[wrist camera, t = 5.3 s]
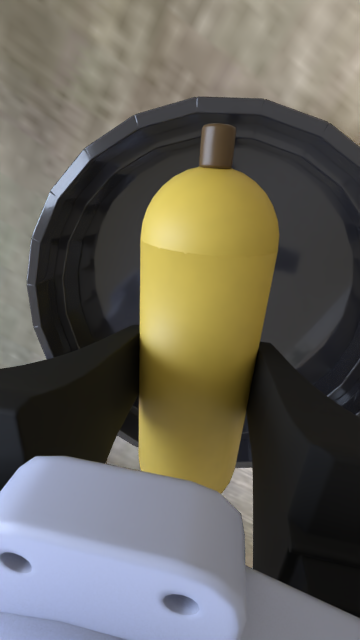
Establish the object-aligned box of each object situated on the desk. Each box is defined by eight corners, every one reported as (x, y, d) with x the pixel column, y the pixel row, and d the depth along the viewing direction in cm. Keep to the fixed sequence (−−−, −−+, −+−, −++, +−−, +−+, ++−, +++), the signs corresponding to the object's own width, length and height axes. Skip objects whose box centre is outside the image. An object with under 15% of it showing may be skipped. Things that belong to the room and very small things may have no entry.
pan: (330, 442, 20) (349, 495, 17) (78, 399, 22) (49, 437, 19) (445, 128, 13) (522, 106, 9) (50, 112, 15) (-5, 89, 12)
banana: (230, 456, 16) (228, 542, 12) (151, 441, 16) (125, 519, 12) (287, 142, 10) (320, 113, 6) (161, 136, 10) (117, 106, 6)
